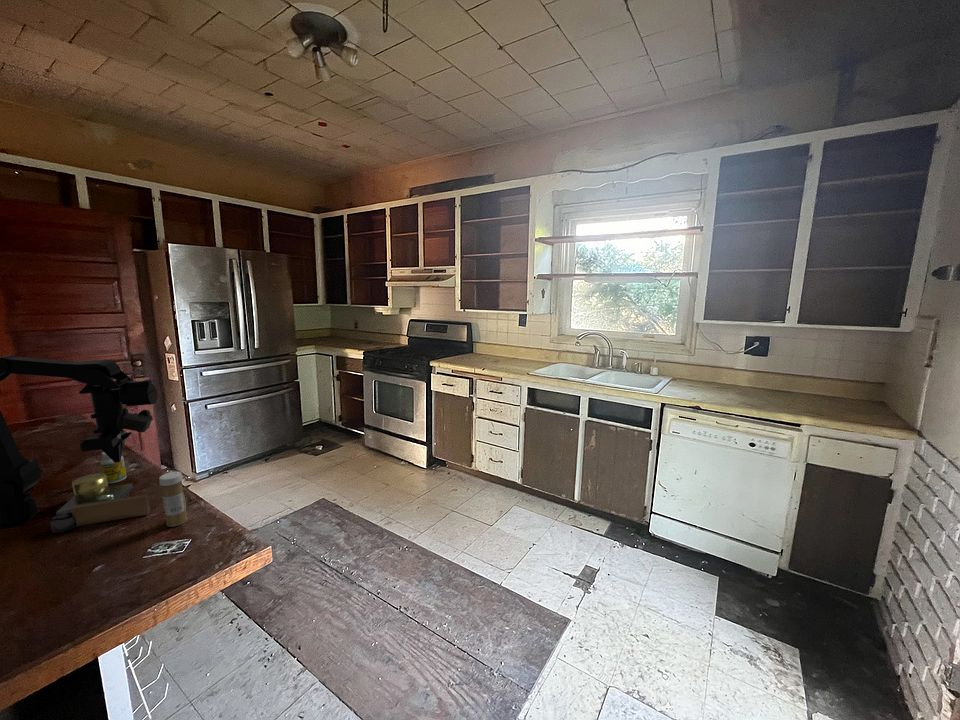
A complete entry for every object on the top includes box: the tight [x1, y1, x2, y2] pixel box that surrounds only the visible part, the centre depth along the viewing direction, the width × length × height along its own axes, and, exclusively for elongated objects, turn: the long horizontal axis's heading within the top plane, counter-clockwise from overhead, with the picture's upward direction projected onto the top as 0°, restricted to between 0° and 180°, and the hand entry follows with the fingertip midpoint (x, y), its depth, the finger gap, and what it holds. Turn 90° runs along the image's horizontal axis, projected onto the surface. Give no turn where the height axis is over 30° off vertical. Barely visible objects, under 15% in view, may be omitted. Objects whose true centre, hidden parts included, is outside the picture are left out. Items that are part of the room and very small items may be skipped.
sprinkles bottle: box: [158, 471, 189, 528], centre depth 102 cm, size 5×5×13 cm
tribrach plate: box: [55, 472, 133, 515], centre depth 112 cm, size 12×12×6 cm
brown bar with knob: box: [49, 494, 151, 534], centre depth 103 cm, size 20×5×5 cm, turn 112°
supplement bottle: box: [100, 451, 127, 485], centre depth 124 cm, size 5×5×10 cm
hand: (117, 461), depth 109 cm, fingers closed
